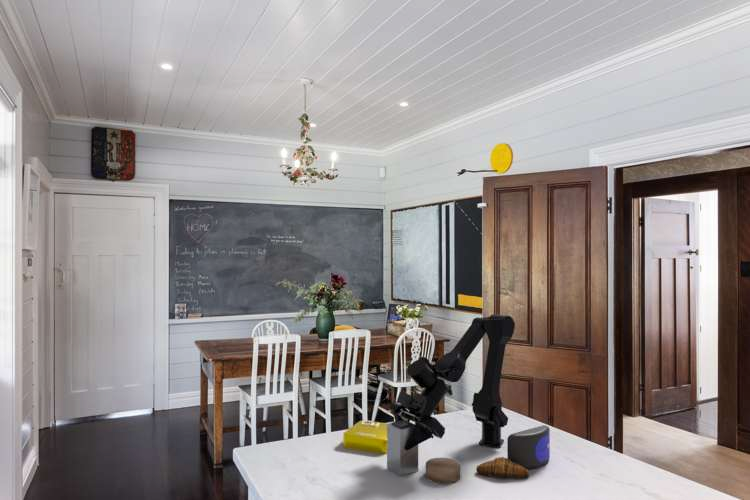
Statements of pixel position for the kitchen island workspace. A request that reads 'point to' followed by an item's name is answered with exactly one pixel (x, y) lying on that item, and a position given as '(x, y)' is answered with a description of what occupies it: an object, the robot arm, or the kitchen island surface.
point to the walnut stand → (443, 470)
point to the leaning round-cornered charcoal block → (529, 447)
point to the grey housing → (401, 448)
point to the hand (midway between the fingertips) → (398, 446)
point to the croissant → (502, 469)
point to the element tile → (367, 437)
